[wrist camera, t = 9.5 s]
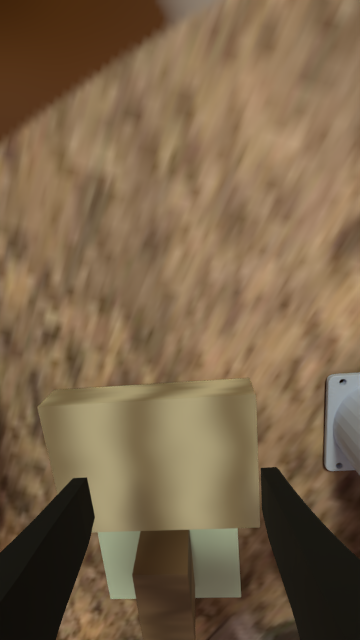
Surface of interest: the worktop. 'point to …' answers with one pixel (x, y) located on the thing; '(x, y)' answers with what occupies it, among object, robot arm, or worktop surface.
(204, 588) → the green mat
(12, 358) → the worktop surface
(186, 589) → the walnut block
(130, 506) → the maple board
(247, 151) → the worktop surface
